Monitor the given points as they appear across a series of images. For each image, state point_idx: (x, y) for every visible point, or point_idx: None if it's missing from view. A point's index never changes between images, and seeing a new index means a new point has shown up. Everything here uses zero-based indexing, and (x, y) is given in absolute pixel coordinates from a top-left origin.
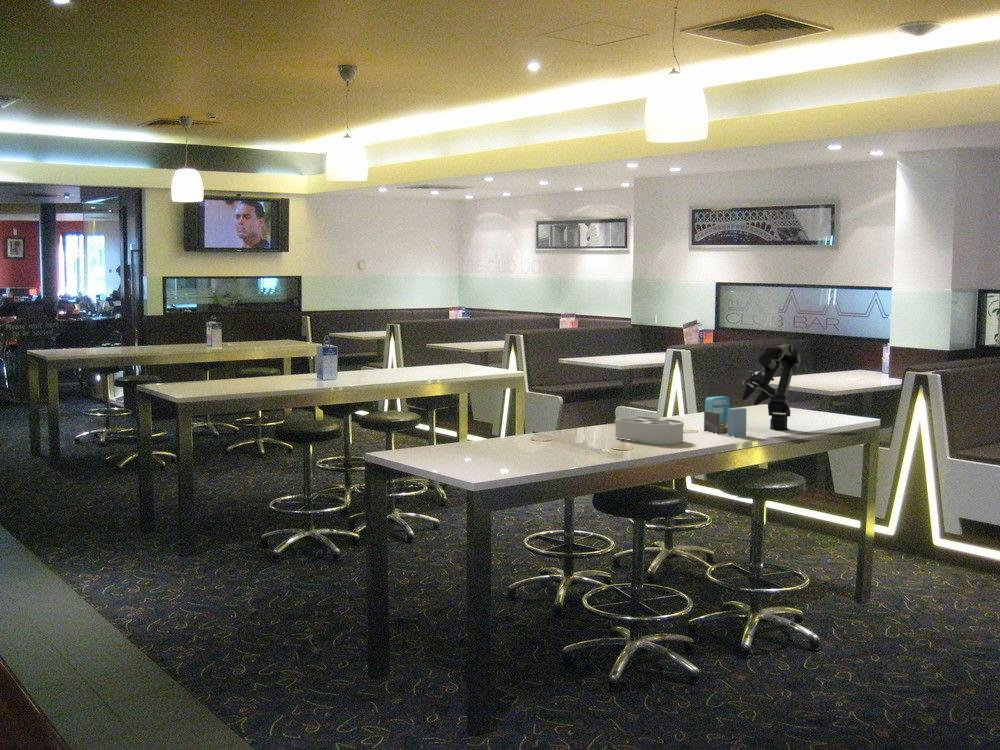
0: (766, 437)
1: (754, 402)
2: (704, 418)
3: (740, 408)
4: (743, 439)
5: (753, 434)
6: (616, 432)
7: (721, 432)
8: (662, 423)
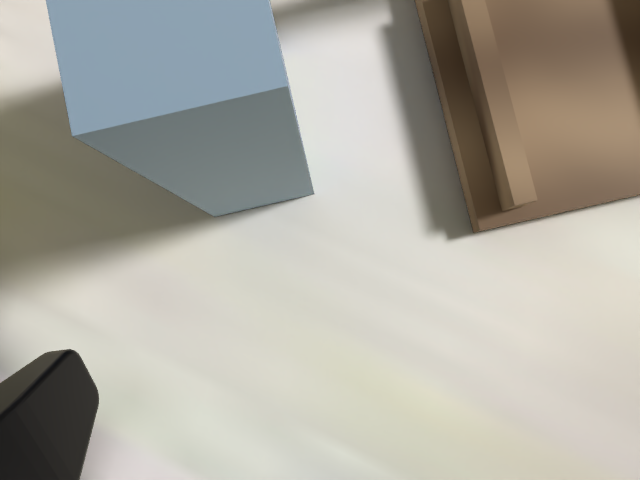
0: None
1: (16, 379)
2: None
3: (120, 6)
4: (5, 92)
5: (288, 341)
6: None
7: (421, 12)
8: None
